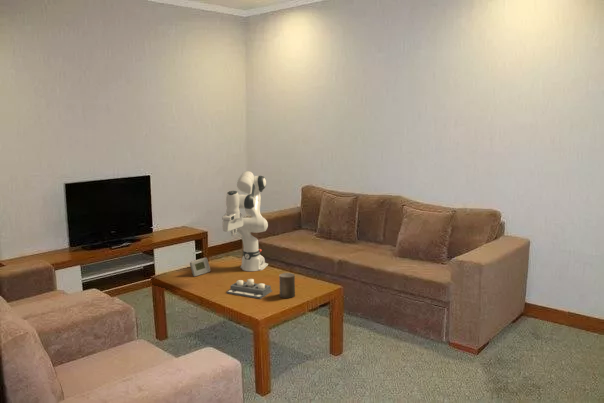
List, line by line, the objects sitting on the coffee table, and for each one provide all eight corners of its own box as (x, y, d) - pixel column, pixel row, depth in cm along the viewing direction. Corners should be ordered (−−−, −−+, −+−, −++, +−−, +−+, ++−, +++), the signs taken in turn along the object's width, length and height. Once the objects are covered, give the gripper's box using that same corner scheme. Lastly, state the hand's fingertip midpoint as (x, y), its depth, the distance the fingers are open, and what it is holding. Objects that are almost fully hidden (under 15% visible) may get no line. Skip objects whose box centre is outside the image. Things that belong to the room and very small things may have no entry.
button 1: (239, 286, 322) (238, 279, 321) (244, 286, 320) (244, 280, 319) (235, 288, 318) (235, 281, 317) (241, 289, 316) (241, 282, 315)
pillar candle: (296, 297, 305) (296, 274, 302) (281, 299, 302) (281, 275, 300) (292, 292, 314) (292, 270, 311) (277, 294, 311) (277, 271, 309)
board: (239, 286, 326) (239, 280, 325) (272, 291, 316) (271, 285, 315) (226, 293, 313) (226, 287, 312) (260, 298, 302) (260, 292, 302)
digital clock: (193, 277, 345) (192, 263, 343) (187, 274, 351) (186, 260, 349) (213, 272, 355) (212, 258, 354) (206, 270, 362) (206, 256, 360)
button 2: (249, 284, 318) (249, 278, 317) (255, 285, 316) (255, 279, 315) (245, 286, 314) (245, 280, 313) (251, 287, 312) (251, 281, 311)
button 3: (260, 289, 315) (260, 282, 314) (266, 290, 313) (265, 283, 312) (256, 291, 311) (256, 284, 310) (262, 292, 309) (262, 285, 308)
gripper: (237, 212, 336) (238, 231, 338) (220, 217, 318) (221, 238, 320) (245, 213, 334) (245, 232, 336) (228, 218, 315) (229, 239, 318)
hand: (233, 235), depth 328 cm, fingers closed
